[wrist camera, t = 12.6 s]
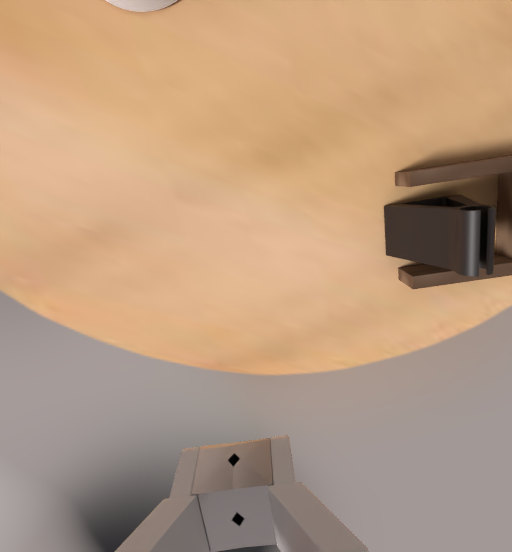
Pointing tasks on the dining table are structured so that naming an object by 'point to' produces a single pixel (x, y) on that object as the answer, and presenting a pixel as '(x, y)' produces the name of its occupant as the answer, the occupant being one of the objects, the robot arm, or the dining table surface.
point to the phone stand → (443, 233)
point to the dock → (508, 233)
